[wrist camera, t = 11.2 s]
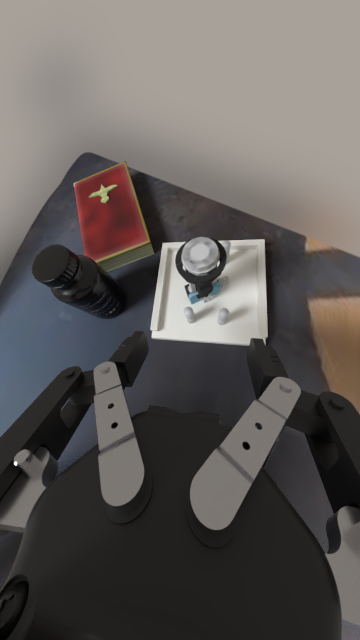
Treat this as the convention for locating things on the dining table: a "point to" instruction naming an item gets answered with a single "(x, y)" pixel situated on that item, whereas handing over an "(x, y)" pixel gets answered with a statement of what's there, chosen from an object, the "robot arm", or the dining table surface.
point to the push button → (202, 267)
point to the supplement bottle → (79, 281)
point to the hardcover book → (111, 218)
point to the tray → (214, 299)
